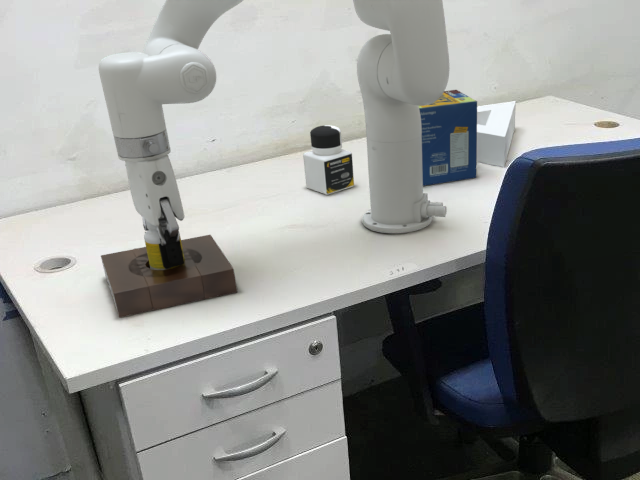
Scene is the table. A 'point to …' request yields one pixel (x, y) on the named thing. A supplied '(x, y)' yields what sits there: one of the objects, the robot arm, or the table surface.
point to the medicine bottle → (328, 162)
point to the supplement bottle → (155, 246)
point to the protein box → (449, 138)
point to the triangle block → (495, 132)
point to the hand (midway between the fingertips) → (166, 258)
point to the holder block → (168, 277)
